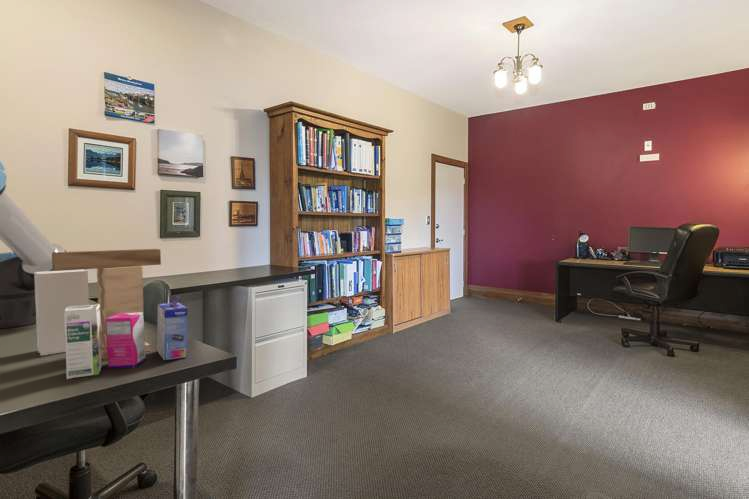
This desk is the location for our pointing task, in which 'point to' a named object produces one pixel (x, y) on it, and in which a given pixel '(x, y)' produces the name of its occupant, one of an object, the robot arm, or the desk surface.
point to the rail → (105, 259)
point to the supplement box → (125, 340)
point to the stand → (119, 296)
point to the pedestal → (57, 305)
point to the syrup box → (82, 340)
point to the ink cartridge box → (172, 330)
